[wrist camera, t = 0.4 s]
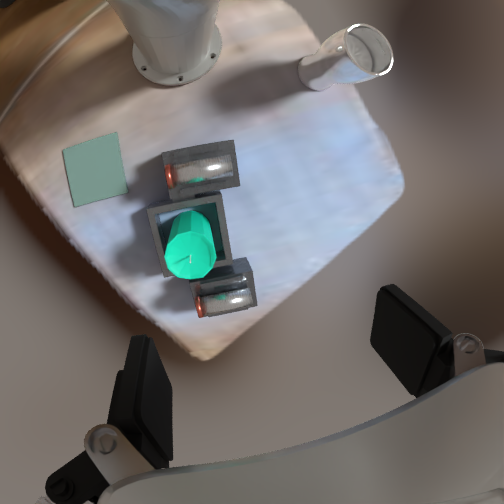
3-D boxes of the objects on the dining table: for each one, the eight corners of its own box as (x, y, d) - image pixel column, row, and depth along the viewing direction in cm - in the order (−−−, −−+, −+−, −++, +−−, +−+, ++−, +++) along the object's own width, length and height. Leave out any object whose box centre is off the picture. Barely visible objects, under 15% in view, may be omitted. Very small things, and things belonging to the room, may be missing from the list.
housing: (141, 157, 36) (132, 159, 31) (229, 140, 38) (234, 139, 33) (176, 304, 45) (175, 324, 40) (251, 289, 47) (258, 308, 42)
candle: (163, 236, 41) (153, 271, 30) (184, 202, 40) (180, 225, 29) (197, 255, 43) (199, 295, 32) (218, 223, 42) (228, 253, 31)
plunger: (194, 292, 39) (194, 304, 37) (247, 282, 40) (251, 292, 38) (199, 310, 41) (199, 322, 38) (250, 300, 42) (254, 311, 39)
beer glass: (301, 96, 37) (353, 79, 23) (289, 55, 34) (333, 20, 21) (341, 90, 38) (401, 76, 24) (329, 51, 35) (384, 23, 21)
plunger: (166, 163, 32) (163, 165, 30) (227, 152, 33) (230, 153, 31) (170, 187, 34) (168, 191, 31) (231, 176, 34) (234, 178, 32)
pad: (63, 149, 33) (62, 149, 32) (117, 132, 34) (116, 132, 34) (75, 206, 36) (74, 207, 36) (128, 192, 37) (127, 192, 37)
